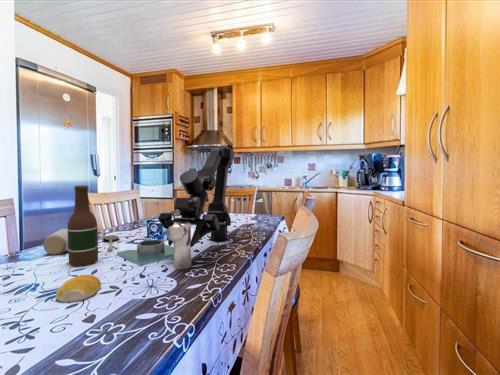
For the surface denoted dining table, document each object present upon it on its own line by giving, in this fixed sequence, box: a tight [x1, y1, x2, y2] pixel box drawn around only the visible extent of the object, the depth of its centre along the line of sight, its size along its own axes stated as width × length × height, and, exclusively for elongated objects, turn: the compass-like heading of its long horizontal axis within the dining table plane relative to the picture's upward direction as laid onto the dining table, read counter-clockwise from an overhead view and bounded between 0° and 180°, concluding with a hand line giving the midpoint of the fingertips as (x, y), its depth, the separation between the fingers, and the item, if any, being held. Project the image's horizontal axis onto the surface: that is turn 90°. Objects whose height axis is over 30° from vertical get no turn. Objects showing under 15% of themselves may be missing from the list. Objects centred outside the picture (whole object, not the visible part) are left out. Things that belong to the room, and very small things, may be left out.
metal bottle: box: [166, 222, 192, 270], centre depth 78 cm, size 8×5×13 cm, turn 167°
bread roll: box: [55, 274, 102, 303], centre depth 62 cm, size 8×9×4 cm
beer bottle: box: [67, 185, 99, 268], centre depth 82 cm, size 8×8×24 cm
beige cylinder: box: [42, 228, 68, 256], centre depth 94 cm, size 11×8×8 cm
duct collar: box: [116, 239, 174, 266], centre depth 91 cm, size 16×16×4 cm
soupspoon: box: [101, 234, 120, 253], centre depth 104 cm, size 22×3×7 cm
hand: (180, 245), depth 78 cm, fingers open, 7 cm apart
